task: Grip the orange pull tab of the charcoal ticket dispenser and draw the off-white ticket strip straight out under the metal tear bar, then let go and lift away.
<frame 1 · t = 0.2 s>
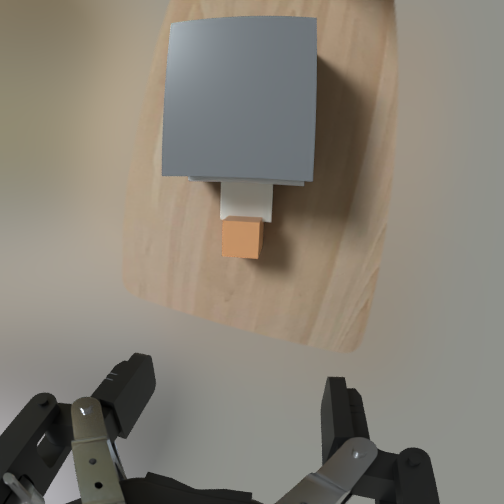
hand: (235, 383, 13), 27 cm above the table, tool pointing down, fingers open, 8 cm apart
dispenser: (252, 108, 35), on the table
ticket: (246, 165, 34), point 3 cm above the table, slide at 0.0 cm
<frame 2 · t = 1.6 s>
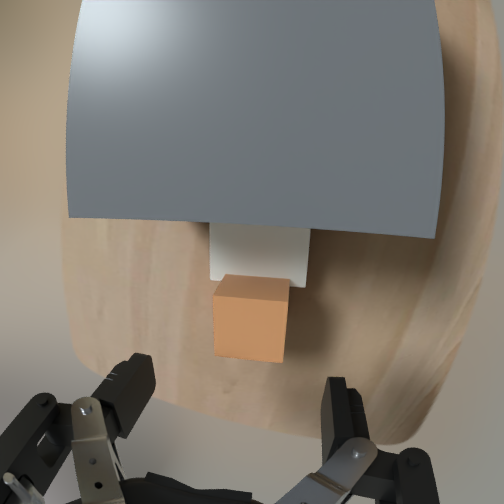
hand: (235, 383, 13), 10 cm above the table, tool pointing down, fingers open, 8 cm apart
dispenser: (267, 70, 17), on the table
ticket: (259, 178, 17), point 3 cm above the table, slide at 0.0 cm
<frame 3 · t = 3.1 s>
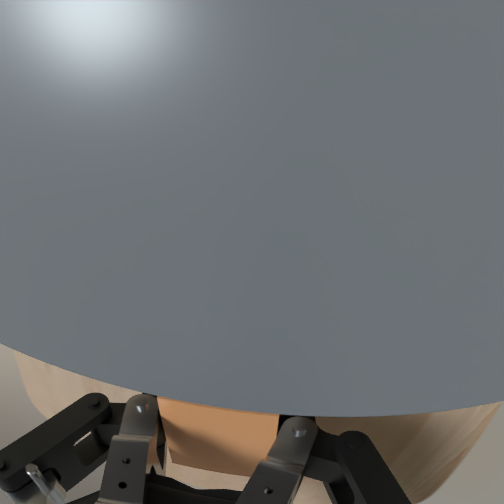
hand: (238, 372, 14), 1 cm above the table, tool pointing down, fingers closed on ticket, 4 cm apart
dispenser: (251, 28, 10), on the table
ticket: (231, 202, 10), point 3 cm above the table, slide at 0.0 cm, touching gripper
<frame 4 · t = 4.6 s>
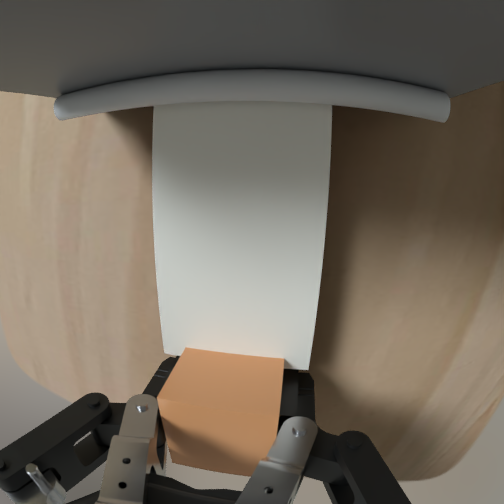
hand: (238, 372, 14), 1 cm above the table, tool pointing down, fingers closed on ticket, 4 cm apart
ticket: (231, 202, 10), point 3 cm above the table, slide at 5.1 cm, touching gripper
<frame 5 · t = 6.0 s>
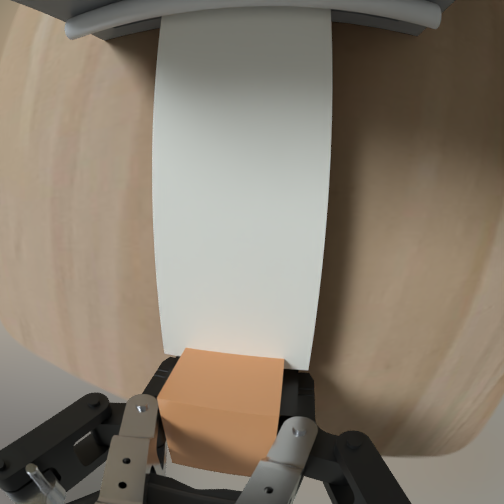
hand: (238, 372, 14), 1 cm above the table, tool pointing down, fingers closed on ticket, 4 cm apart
ticket: (231, 202, 10), point 3 cm above the table, slide at 8.5 cm, touching gripper
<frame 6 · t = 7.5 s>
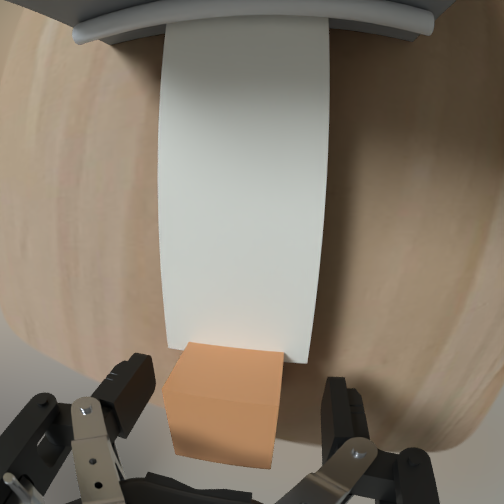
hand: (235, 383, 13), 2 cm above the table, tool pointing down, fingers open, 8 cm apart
ticket: (233, 201, 10), point 3 cm above the table, slide at 8.5 cm
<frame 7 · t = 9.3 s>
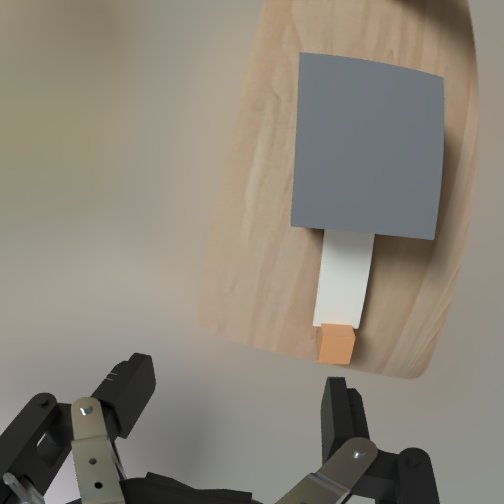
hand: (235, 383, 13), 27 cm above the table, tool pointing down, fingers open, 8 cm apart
dispenser: (354, 149, 34), on the table
ticket: (344, 282, 36), point 3 cm above the table, slide at 8.5 cm
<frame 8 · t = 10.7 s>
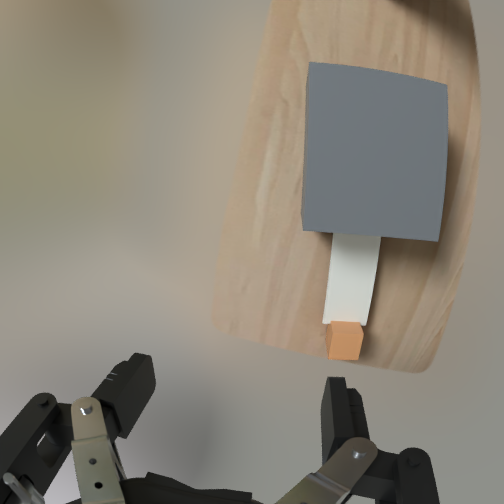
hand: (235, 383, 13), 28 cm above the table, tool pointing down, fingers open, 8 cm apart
dispenser: (360, 153, 35), on the table
ticket: (353, 281, 37), point 3 cm above the table, slide at 8.5 cm
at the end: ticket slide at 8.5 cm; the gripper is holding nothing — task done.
